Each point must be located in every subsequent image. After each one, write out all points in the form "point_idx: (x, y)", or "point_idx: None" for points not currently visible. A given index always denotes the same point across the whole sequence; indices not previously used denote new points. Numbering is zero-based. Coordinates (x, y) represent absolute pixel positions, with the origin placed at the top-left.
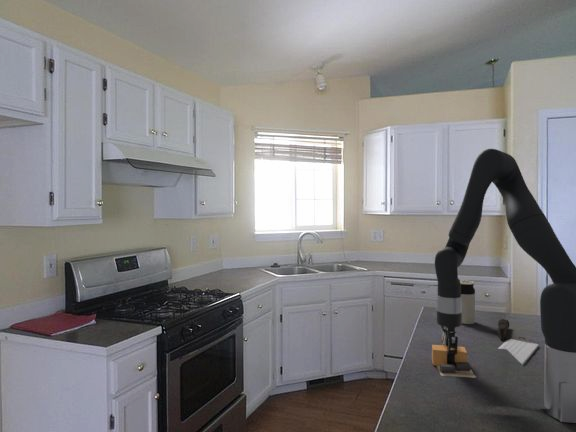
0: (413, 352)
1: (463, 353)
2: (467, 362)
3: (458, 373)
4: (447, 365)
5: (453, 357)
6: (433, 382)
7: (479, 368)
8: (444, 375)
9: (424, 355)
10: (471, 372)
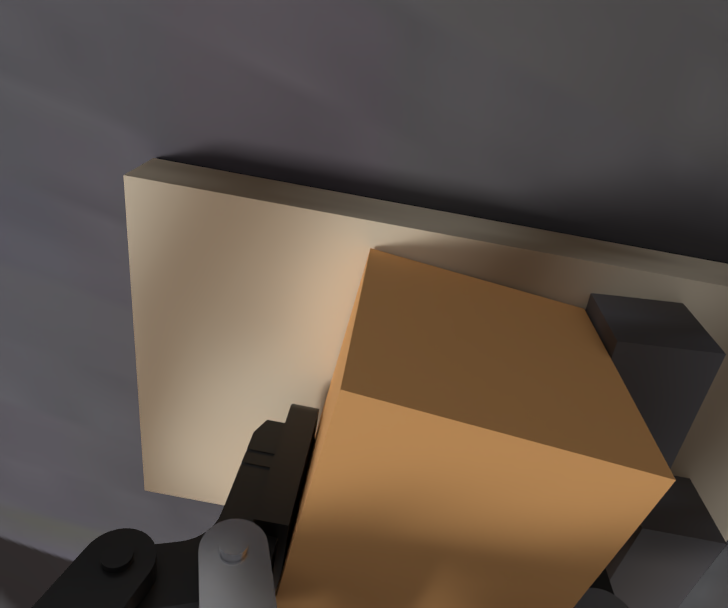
0: (22, 523)
1: (635, 503)
2: (621, 351)
3: (700, 450)
4: (650, 588)
5: (602, 574)
6: (685, 600)
7: (428, 22)
8: None
9: (74, 472)
10: (723, 304)
